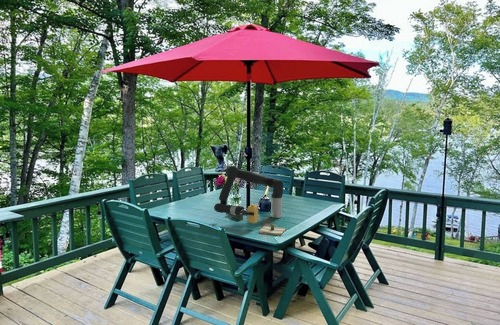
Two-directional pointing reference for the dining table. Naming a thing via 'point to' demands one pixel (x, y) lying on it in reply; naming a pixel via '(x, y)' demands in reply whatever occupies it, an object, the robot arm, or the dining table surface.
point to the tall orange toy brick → (254, 218)
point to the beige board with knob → (272, 230)
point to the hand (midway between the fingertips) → (255, 213)
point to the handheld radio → (236, 216)
